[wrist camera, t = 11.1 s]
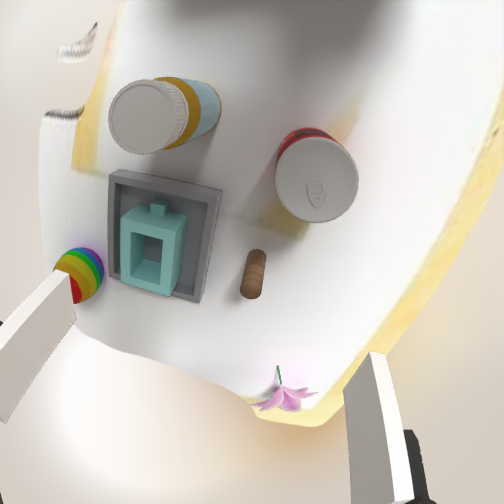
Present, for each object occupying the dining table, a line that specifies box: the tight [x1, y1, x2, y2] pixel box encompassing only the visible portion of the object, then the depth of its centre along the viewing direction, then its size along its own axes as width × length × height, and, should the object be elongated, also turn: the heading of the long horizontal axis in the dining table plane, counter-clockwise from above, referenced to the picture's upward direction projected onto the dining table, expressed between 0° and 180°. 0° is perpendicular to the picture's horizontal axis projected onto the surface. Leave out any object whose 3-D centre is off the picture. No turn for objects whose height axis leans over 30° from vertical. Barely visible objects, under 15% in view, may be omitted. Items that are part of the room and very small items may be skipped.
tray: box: [108, 169, 222, 303], centre depth 41 cm, size 16×15×3 cm
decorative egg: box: [53, 248, 104, 304], centre depth 43 cm, size 8×8×10 cm
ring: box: [120, 198, 188, 297], centre depth 40 cm, size 8×12×5 cm, turn 167°
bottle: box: [108, 77, 221, 155], centre depth 27 cm, size 7×7×15 cm
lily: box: [249, 365, 318, 412], centre depth 52 cm, size 12×12×10 cm
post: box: [240, 249, 266, 299], centre depth 39 cm, size 2×2×8 cm
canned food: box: [274, 128, 359, 223], centre depth 31 cm, size 8×8×11 cm
